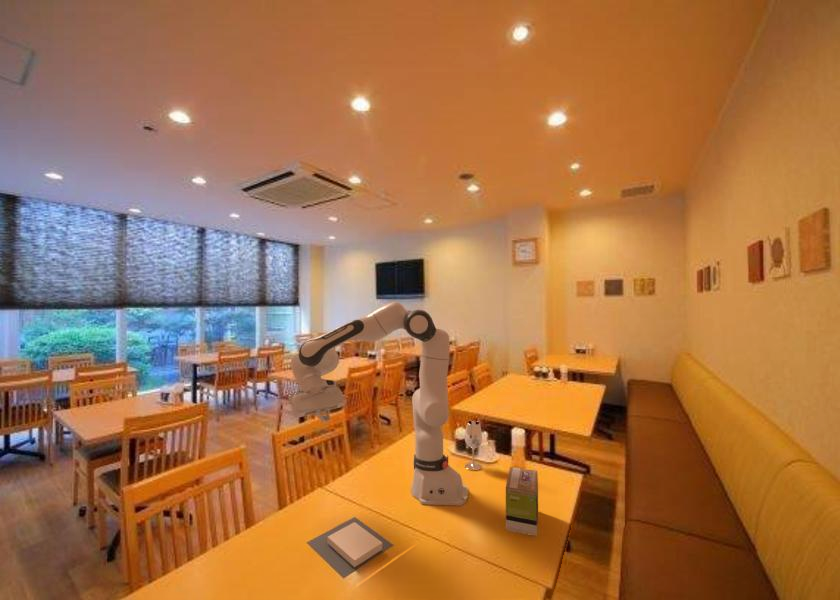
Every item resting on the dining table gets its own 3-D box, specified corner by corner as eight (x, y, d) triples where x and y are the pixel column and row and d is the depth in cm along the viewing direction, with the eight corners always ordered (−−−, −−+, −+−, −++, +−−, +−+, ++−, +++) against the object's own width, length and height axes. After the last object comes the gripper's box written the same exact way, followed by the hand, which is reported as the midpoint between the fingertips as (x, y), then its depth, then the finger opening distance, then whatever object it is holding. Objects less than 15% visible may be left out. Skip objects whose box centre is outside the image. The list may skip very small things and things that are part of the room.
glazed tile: (327, 536, 108) (354, 560, 98) (354, 521, 115) (382, 542, 105) (327, 544, 108) (354, 568, 98) (354, 529, 115) (382, 550, 105)
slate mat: (306, 544, 109) (306, 542, 109) (354, 518, 122) (354, 516, 122) (343, 580, 95) (343, 578, 95) (393, 546, 108) (393, 545, 108)
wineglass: (462, 463, 163) (463, 419, 163) (479, 462, 164) (479, 419, 164) (466, 471, 155) (466, 425, 155) (484, 470, 156) (484, 425, 156)
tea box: (509, 505, 130) (509, 465, 130) (538, 511, 126) (538, 469, 126) (505, 530, 116) (505, 485, 116) (537, 537, 112) (537, 491, 112)
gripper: (289, 389, 125) (302, 423, 118) (338, 380, 140) (353, 410, 133) (283, 399, 128) (296, 433, 121) (332, 389, 143) (346, 419, 136)
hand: (326, 421), depth 127 cm, fingers closed
